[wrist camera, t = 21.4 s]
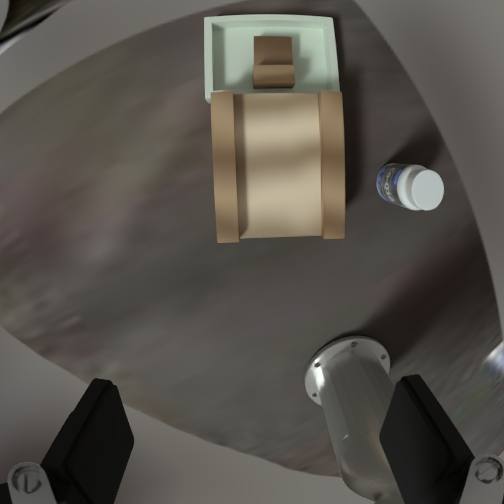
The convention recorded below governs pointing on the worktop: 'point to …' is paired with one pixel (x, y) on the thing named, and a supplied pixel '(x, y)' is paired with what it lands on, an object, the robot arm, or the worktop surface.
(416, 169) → the pill bottle
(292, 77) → the walnut chip
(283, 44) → the walnut chip
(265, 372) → the worktop surface
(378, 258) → the worktop surface
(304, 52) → the tray
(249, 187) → the slot block
